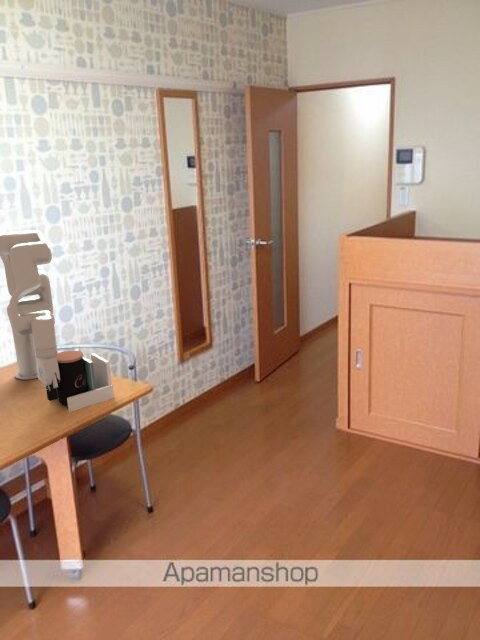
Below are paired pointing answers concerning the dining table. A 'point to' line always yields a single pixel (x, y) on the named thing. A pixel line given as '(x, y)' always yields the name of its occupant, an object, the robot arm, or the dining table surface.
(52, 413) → the dining table surface
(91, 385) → the plate
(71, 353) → the coffee jar
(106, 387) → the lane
